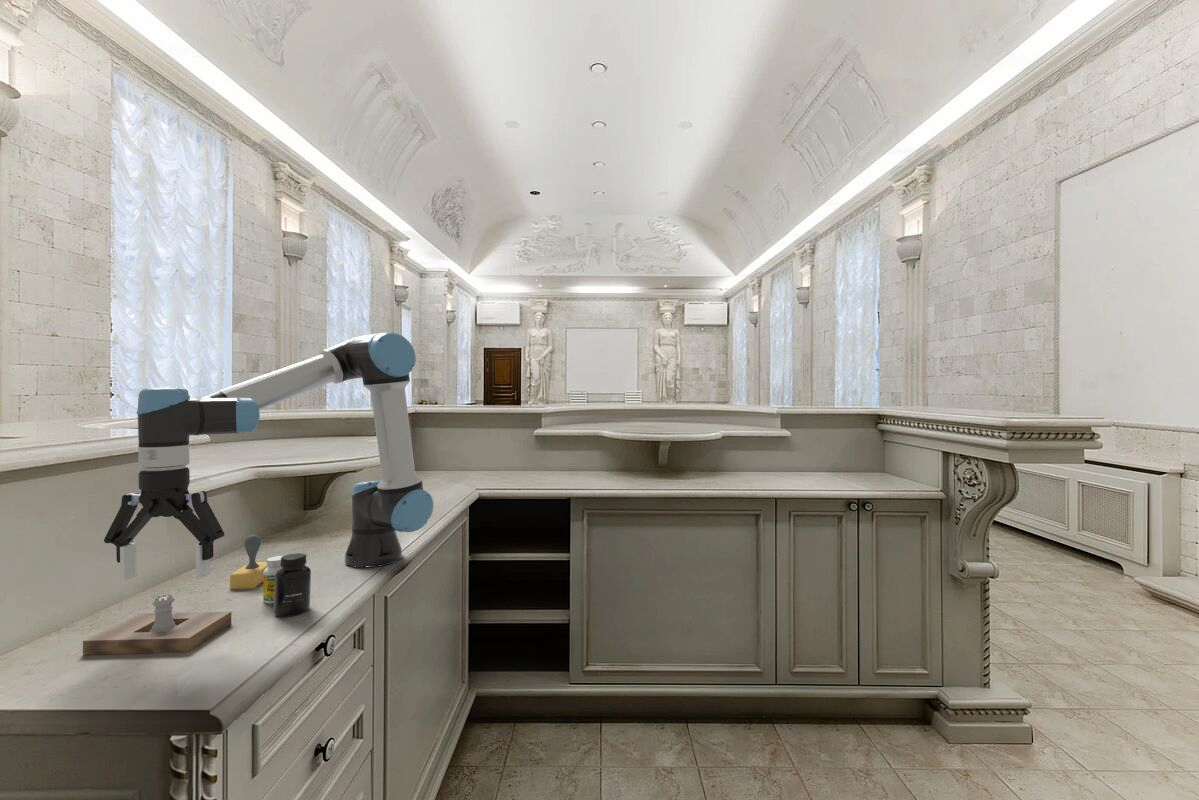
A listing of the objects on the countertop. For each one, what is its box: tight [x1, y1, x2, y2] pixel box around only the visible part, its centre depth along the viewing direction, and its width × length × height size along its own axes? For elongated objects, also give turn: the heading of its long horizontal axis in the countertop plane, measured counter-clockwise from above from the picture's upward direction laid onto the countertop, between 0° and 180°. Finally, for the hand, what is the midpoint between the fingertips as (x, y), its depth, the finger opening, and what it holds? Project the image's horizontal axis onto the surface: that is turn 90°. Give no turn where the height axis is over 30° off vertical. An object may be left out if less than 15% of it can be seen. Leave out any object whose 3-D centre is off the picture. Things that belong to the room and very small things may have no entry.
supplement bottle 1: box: [262, 555, 283, 605], centre depth 118 cm, size 5×5×10 cm
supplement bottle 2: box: [273, 552, 312, 618], centre depth 112 cm, size 7×7×12 cm
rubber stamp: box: [229, 534, 268, 590], centre depth 130 cm, size 10×6×12 cm, turn 11°
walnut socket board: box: [82, 611, 232, 655], centre depth 98 cm, size 18×12×2 cm, turn 94°
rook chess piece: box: [150, 593, 177, 632], centre depth 98 cm, size 4×4×8 cm
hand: (165, 577), depth 99 cm, fingers open, 13 cm apart
